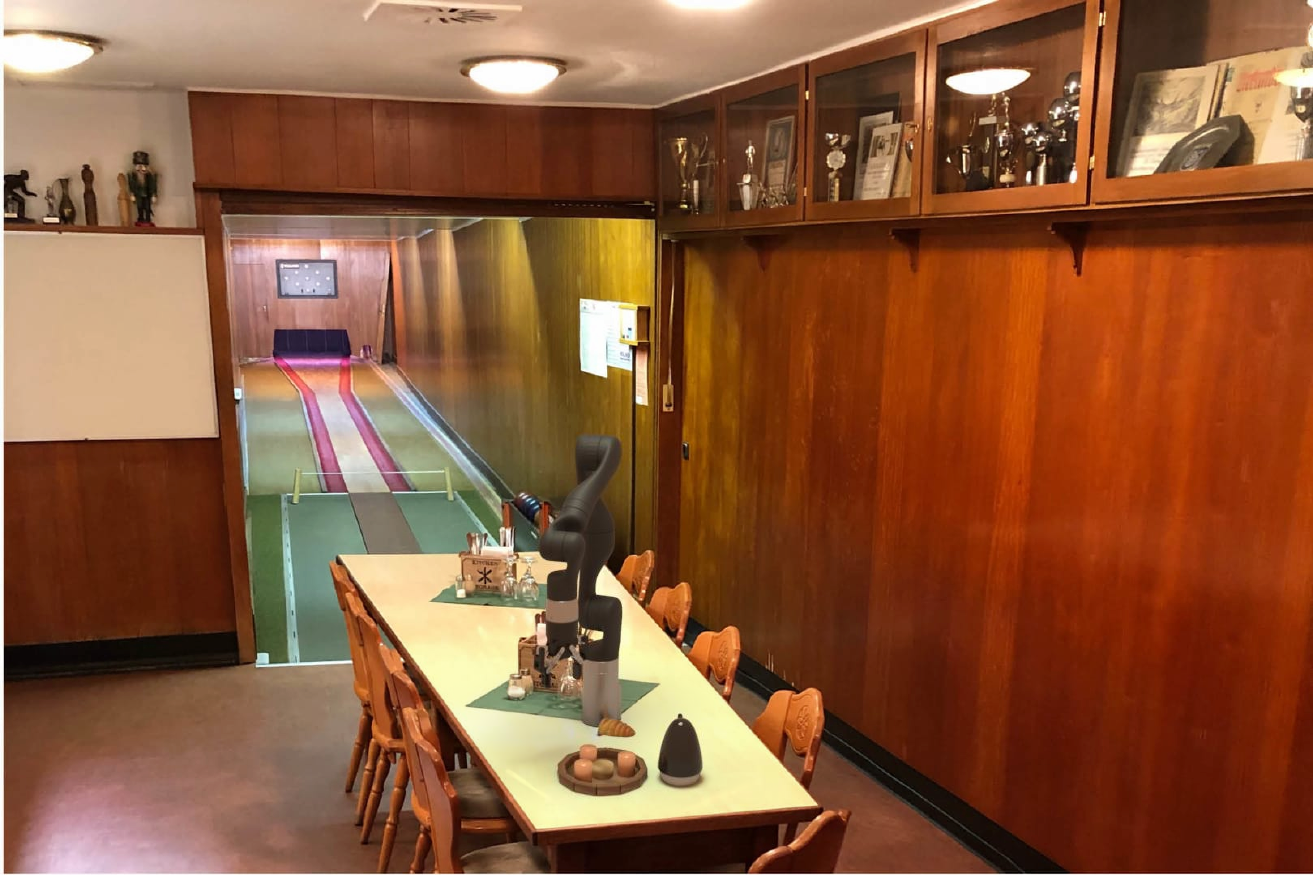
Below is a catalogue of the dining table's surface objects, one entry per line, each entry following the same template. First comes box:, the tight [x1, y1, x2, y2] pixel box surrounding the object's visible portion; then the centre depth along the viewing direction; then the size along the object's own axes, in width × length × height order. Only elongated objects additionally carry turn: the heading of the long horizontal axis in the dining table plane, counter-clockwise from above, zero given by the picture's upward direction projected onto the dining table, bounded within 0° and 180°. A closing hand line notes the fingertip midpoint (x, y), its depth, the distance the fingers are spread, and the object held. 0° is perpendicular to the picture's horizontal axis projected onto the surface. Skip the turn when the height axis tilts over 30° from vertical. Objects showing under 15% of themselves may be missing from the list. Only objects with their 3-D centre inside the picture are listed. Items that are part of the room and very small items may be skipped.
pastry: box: [596, 718, 636, 738], centre depth 260 cm, size 9×7×4 cm
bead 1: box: [579, 743, 598, 763], centre depth 240 cm, size 4×4×4 cm
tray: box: [557, 746, 649, 797], centre depth 236 cm, size 20×20×4 cm
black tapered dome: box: [657, 713, 704, 787], centre depth 234 cm, size 10×10×15 cm
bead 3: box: [618, 750, 636, 777], centre depth 237 cm, size 4×4×4 cm
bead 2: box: [574, 759, 592, 783], centre depth 232 cm, size 4×4×4 cm
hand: (561, 683), depth 240 cm, fingers open, 8 cm apart
